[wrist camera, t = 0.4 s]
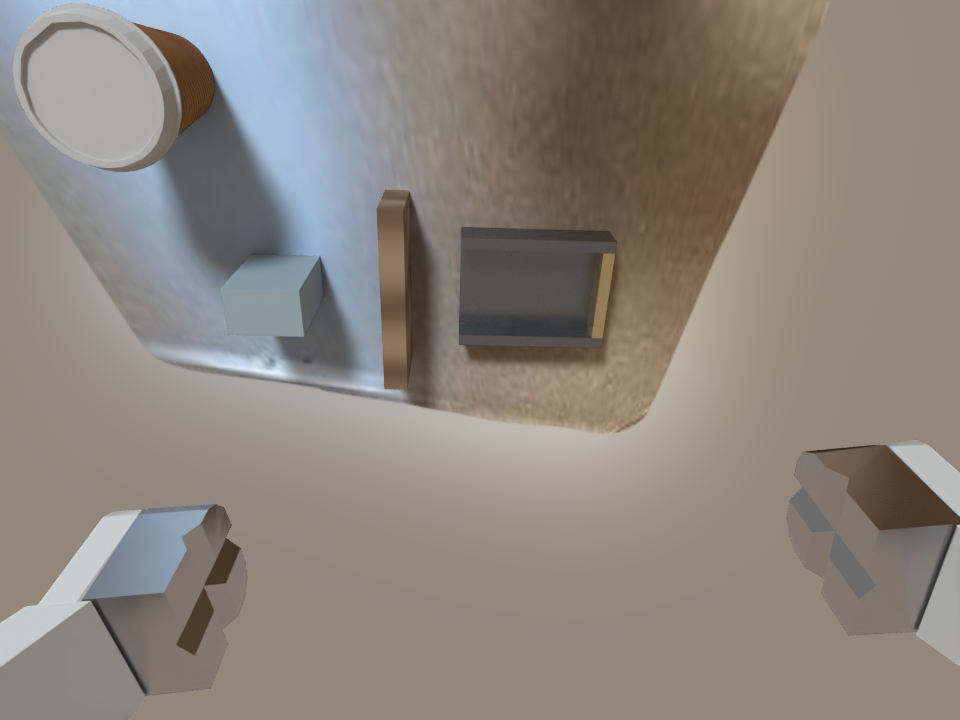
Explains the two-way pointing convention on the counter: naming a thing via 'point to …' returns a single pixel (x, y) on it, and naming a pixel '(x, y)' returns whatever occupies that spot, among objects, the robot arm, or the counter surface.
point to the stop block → (273, 295)
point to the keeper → (534, 287)
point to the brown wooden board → (395, 286)
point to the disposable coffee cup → (109, 86)
